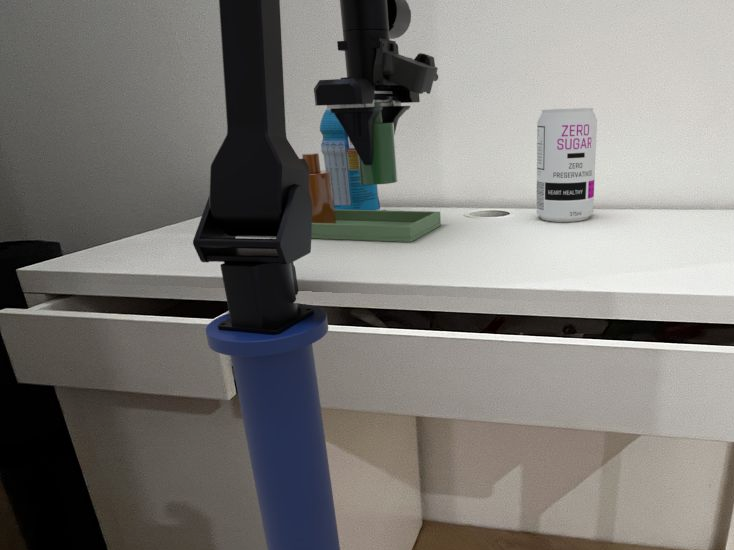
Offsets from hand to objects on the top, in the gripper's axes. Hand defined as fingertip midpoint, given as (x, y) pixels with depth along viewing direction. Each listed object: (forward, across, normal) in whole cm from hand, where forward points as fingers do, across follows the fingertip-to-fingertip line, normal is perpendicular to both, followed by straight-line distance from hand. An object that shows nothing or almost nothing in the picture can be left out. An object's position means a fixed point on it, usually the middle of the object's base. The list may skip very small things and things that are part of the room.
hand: (376, 162), depth 83 cm
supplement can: (+9, +14, -23) cm, 28 cm away
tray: (+9, 0, +9) cm, 13 cm away
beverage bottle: (+9, +13, +11) cm, 20 cm away
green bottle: (+2, 0, 0) cm, 3 cm away
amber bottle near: (+9, 0, +10) cm, 13 cm away
